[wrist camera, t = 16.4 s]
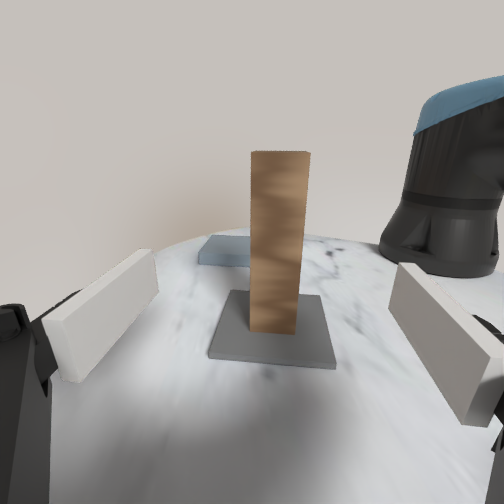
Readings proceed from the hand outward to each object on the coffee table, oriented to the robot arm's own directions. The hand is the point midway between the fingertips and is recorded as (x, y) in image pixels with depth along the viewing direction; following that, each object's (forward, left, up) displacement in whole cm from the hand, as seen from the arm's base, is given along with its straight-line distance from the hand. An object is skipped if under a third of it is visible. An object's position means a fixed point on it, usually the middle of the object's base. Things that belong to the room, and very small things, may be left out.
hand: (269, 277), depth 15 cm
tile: (+6, -21, -9) cm, 24 cm away
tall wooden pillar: (0, -8, -9) cm, 12 cm away
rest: (0, -8, -9) cm, 13 cm away
